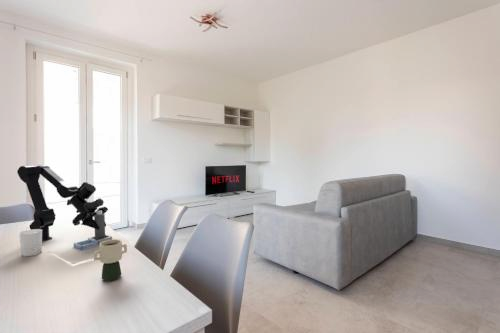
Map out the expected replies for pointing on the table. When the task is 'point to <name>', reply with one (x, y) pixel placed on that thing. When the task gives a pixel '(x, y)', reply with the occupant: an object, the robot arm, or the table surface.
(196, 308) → the table surface
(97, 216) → the gray bottle
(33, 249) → the white cup
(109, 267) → the beige and green cup
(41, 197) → the robot arm
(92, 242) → the divided tray
